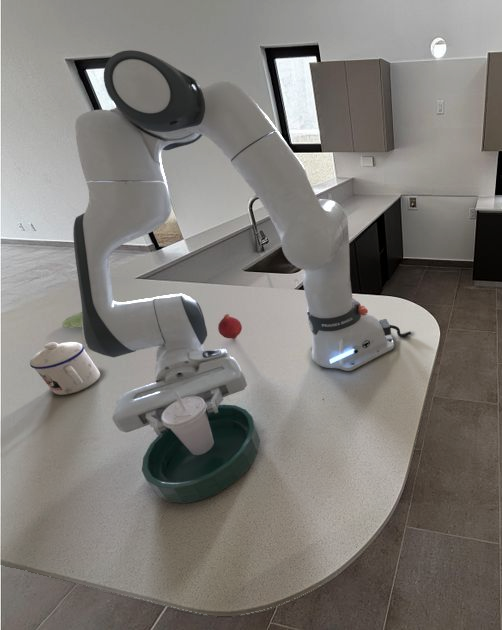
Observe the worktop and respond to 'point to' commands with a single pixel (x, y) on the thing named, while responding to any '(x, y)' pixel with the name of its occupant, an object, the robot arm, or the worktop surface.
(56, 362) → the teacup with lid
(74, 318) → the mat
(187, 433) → the smoothie
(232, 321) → the onion
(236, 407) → the green round tray
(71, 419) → the worktop surface
